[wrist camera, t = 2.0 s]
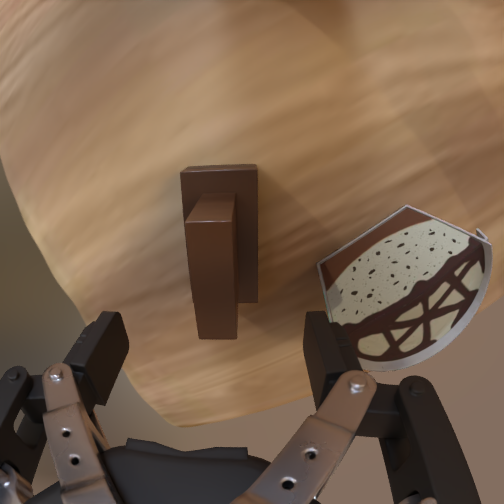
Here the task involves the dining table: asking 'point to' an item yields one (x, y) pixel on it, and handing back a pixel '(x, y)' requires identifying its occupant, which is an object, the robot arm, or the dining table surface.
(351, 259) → the food container
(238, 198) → the brown stepped block
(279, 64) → the dining table surface
